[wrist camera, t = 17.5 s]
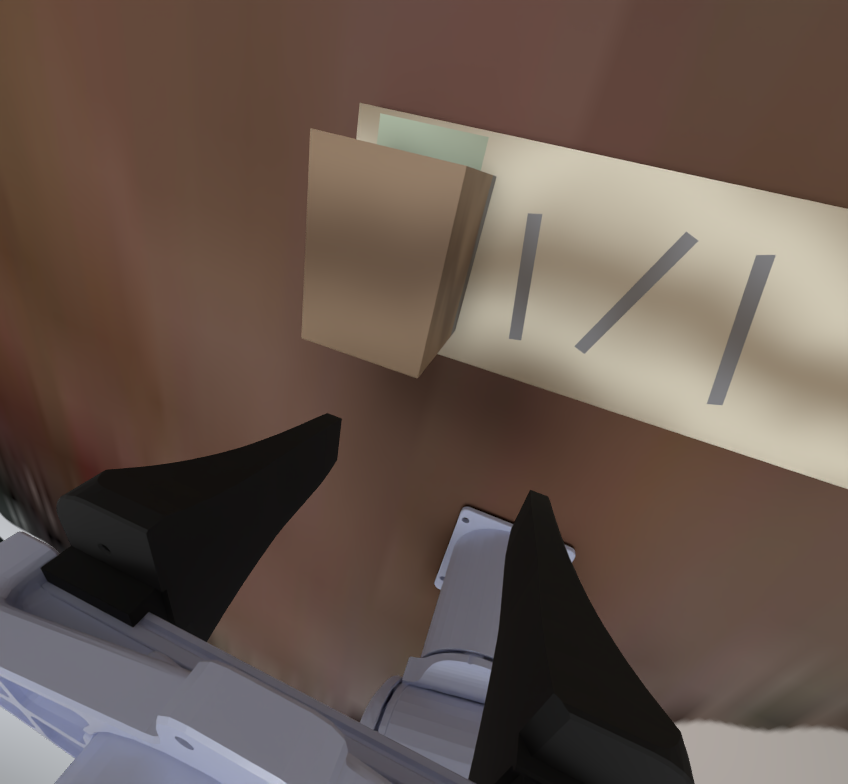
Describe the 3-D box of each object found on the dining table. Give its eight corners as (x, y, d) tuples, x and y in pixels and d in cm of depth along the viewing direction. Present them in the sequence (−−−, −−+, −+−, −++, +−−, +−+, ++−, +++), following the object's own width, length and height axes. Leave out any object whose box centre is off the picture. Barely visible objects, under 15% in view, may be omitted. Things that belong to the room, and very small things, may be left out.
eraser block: (455, 330, 19) (417, 378, 14) (366, 302, 20) (301, 338, 15) (496, 176, 16) (466, 166, 11) (387, 150, 16) (310, 128, 11)
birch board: (885, 487, 18) (911, 509, 16) (351, 314, 22) (339, 321, 21) (1132, 276, 13) (1197, 284, 11) (374, 109, 17) (359, 102, 16)
